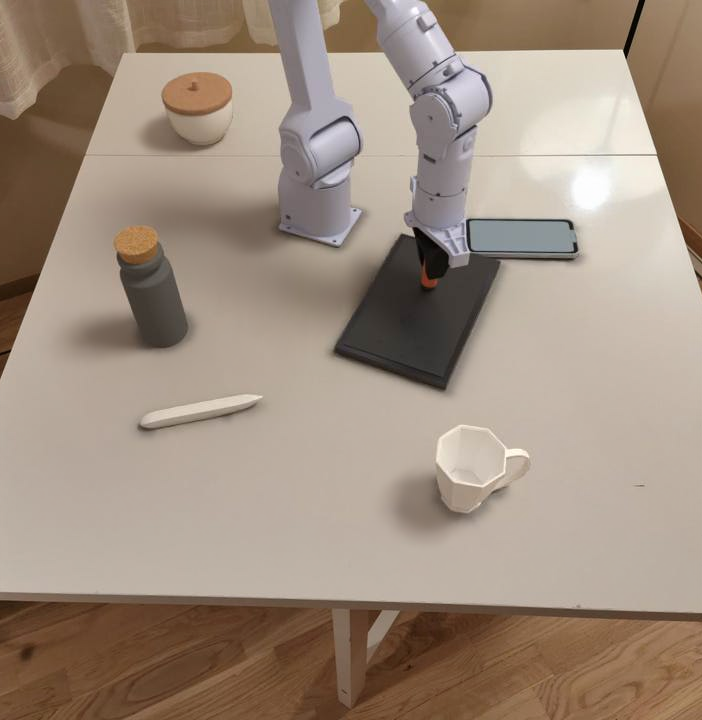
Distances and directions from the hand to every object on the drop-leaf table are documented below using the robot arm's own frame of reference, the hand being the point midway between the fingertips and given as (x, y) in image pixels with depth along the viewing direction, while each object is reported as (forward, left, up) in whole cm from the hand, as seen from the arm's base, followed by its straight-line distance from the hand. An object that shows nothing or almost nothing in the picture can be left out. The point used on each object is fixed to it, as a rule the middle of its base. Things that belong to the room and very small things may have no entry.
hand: (431, 269), depth 88 cm
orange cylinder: (0, 0, -3) cm, 3 cm away
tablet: (0, -3, -4) cm, 5 cm away
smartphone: (+8, +14, -4) cm, 17 cm away
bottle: (-28, -19, -4) cm, 34 cm away
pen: (-17, -28, -4) cm, 33 cm away
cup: (+14, -25, -4) cm, 29 cm away
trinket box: (-45, +19, -4) cm, 49 cm away
